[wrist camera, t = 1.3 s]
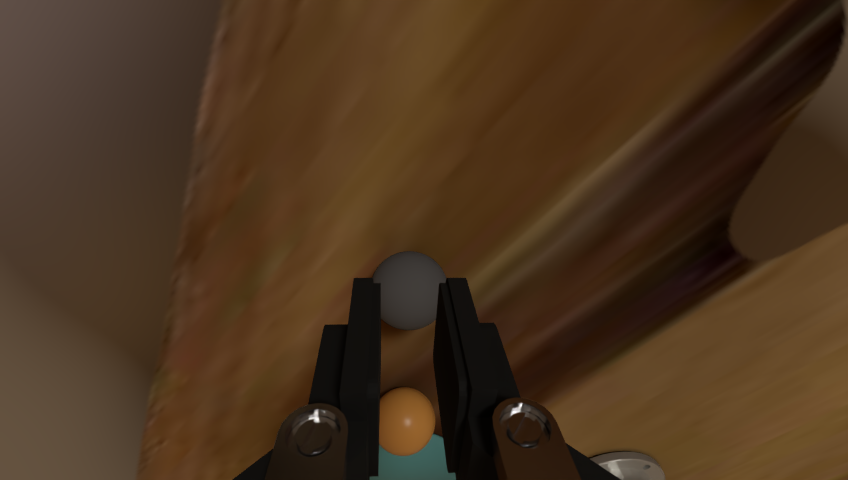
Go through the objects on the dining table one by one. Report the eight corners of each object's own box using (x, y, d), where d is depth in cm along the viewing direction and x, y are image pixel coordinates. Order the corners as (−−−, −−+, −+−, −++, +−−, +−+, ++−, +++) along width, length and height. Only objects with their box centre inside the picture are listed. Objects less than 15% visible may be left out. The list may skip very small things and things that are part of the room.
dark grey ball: (455, 279, 32) (466, 326, 28) (393, 307, 33) (394, 358, 28) (423, 225, 30) (429, 267, 25) (357, 257, 31) (352, 303, 26)
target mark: (484, 481, 46) (485, 483, 46) (376, 521, 49) (376, 523, 48) (428, 411, 40) (428, 413, 40) (306, 460, 42) (306, 462, 42)
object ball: (442, 401, 39) (449, 455, 34) (391, 421, 40) (391, 477, 35) (415, 365, 37) (419, 419, 32) (361, 388, 37) (357, 443, 33)
